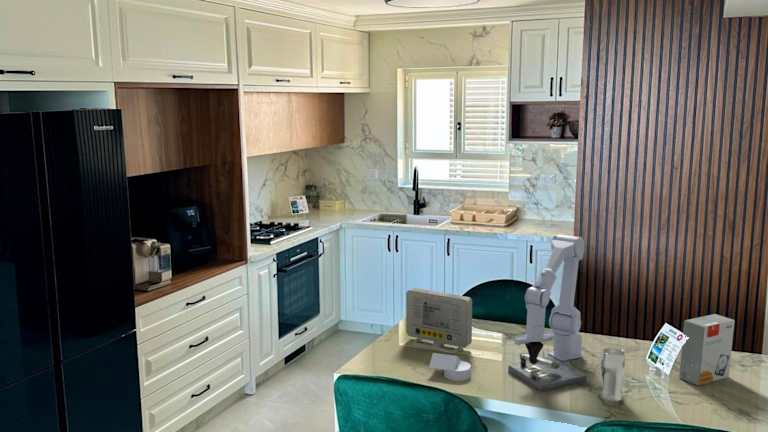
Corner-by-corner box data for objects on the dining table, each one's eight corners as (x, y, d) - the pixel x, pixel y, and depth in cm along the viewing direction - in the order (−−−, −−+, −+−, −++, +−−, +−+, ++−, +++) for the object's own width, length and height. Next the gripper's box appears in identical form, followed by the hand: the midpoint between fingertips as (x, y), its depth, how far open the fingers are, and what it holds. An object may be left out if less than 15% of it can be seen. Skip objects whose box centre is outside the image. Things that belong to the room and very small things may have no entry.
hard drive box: (698, 387, 213) (703, 327, 210) (678, 378, 220) (682, 320, 216) (730, 377, 220) (735, 319, 217) (709, 369, 227) (714, 312, 223)
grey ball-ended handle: (518, 358, 225) (518, 353, 225) (522, 356, 227) (522, 351, 227) (555, 369, 216) (556, 364, 216) (559, 367, 218) (559, 362, 218)
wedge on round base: (428, 376, 222) (467, 382, 218) (429, 357, 221) (467, 362, 217) (436, 366, 231) (473, 371, 226) (436, 348, 230) (473, 352, 225)
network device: (474, 348, 247) (474, 296, 244) (463, 355, 240) (464, 302, 237) (414, 335, 261) (414, 285, 257) (402, 342, 254) (402, 291, 250)
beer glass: (595, 393, 209) (598, 347, 206) (617, 392, 210) (620, 346, 207) (605, 403, 202) (607, 356, 200) (627, 402, 203) (630, 355, 200)
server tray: (550, 362, 233) (551, 351, 232) (586, 382, 217) (587, 370, 216) (508, 372, 226) (508, 360, 225) (542, 392, 210) (542, 380, 209)
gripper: (545, 317, 226) (543, 356, 228) (510, 322, 220) (507, 361, 222) (559, 323, 220) (556, 363, 222) (523, 328, 214) (520, 369, 216)
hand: (533, 363), depth 222 cm, fingers closed, pressing on grey ball-ended handle
